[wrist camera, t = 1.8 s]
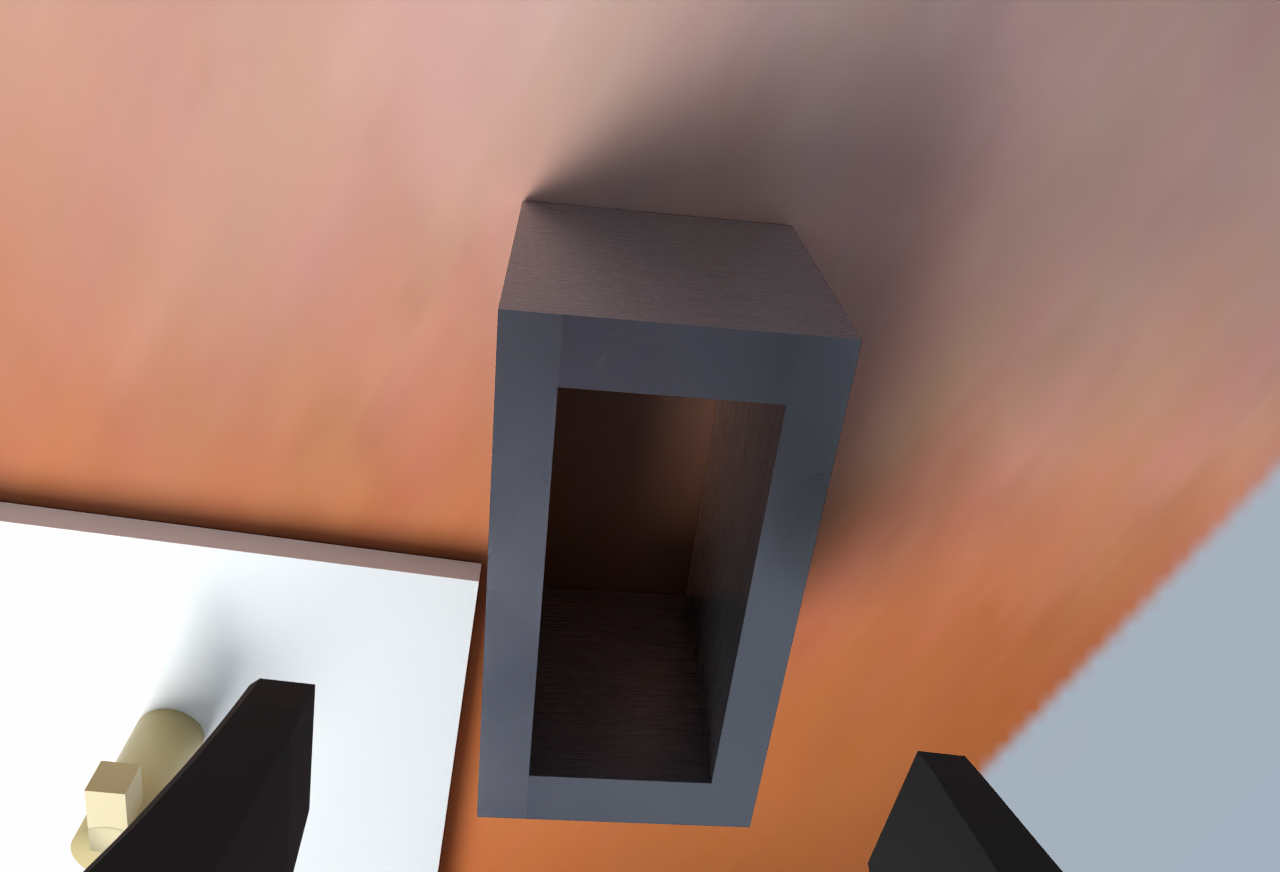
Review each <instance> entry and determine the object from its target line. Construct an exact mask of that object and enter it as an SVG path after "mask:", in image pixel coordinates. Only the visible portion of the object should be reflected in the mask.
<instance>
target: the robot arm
mask: <svg viewBox="0 0 1280 872" xmlns="http://www.w3.org/2000/svg"><path fill="white" fill-rule="evenodd" d="M314 702H315V684H307V683H298V682H289V681H280V680H271V679H262V678H260V679H258V680H257V681H255V682H253V683H252V684H250V685H249V686H248V688H247V689H246V690H245V692H244V693H243V694H242V696H241V697H240V698H239V700H238V701H237V702H236V704H235V705H234V706H233V707H232V709H231V710H230V711H229V712H228V714H227V715H226V716H225V717H224V719H223V720H222V721H221V722H220V724H219V725H218V726H217V727H216V729H215V730H214V731H213V732H212V733H211V735H210V736H209V737H208V738H207V739H206V741H205V742H204V743H203V744H202V745H201V747H200V748H199V749H198V750H197V751H196V752H195V753H194V755H193V756H192V757H191V758H190V759H189V760H188V762H187V763H186V764H185V765H184V766H183V767H182V769H181V770H180V771H179V772H178V773H177V774H176V775H175V776H174V778H173V779H172V780H171V781H170V782H169V783H168V784H167V785H166V786H165V787H164V788H163V789H162V791H161V792H160V793H159V794H158V795H157V796H156V797H155V798H154V799H153V800H152V801H151V802H150V804H149V805H148V806H147V807H146V808H145V809H144V810H143V811H142V812H141V813H140V814H139V815H138V817H137V818H136V819H135V820H134V821H133V822H132V823H131V824H130V825H129V826H128V827H127V828H126V829H125V830H124V831H123V832H122V834H121V835H120V836H119V837H118V838H117V839H116V840H115V841H114V842H113V843H112V844H111V845H110V846H109V847H108V848H107V849H106V850H105V851H104V852H103V853H102V854H101V855H99V856H98V857H97V858H96V859H95V860H94V861H93V862H92V863H91V864H90V865H89V866H88V867H87V868H86V869H85V870H84V871H83V872H293V871H294V868H295V864H296V860H297V856H298V852H299V849H300V845H301V841H302V837H303V833H304V829H305V825H306V821H307V817H308V813H309V807H310V786H311V765H312V744H313V723H314ZM868 866H869V872H1062V870H1061V869H1060V868H1059V867H1058V866H1057V865H1056V863H1055V862H1054V861H1053V860H1052V859H1051V857H1050V856H1049V855H1048V854H1047V853H1046V852H1045V850H1044V849H1043V848H1042V847H1041V846H1040V844H1039V843H1038V842H1037V841H1036V840H1035V838H1034V837H1033V836H1032V835H1031V834H1030V832H1029V831H1028V830H1027V829H1026V828H1025V826H1024V825H1023V824H1022V823H1021V822H1020V821H1019V819H1018V818H1017V817H1016V816H1015V814H1014V813H1013V812H1012V811H1011V810H1010V808H1008V806H1007V805H1006V804H1005V802H1004V801H1003V800H1002V799H1001V798H1000V797H999V795H998V794H997V793H996V792H995V791H994V789H993V788H992V787H991V786H990V785H989V783H988V782H987V781H986V780H985V779H984V778H983V776H982V775H981V774H980V773H979V772H978V771H977V769H976V768H975V767H974V766H973V765H972V764H971V763H970V761H969V760H968V759H967V758H966V757H965V756H958V755H949V754H940V753H931V752H922V751H918V752H917V754H916V756H915V759H914V761H913V763H912V765H911V768H910V770H909V772H908V774H907V777H906V779H905V781H904V783H903V786H902V788H901V790H900V792H899V795H898V797H897V799H896V801H895V804H894V806H893V808H892V810H891V813H890V815H889V817H888V819H887V821H886V824H885V826H884V828H883V830H882V833H881V835H880V837H879V839H878V842H877V844H876V846H875V848H874V851H873V853H872V855H871V857H870V860H869V862H868Z"/></svg>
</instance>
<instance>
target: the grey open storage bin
mask: <svg viewBox="0 0 1280 872" xmlns="http://www.w3.org/2000/svg"><path fill="white" fill-rule="evenodd" d="M861 342H862V339H861V337H860V335H859V334H858V332H857V331H856V329H855V327H854V326H853V324H852V323H851V321H850V319H849V318H848V316H847V314H846V313H845V311H844V310H843V308H842V306H841V305H840V303H839V302H838V300H837V298H836V297H835V295H834V293H833V292H832V290H831V289H830V287H829V285H828V284H827V282H826V281H825V279H824V277H823V276H822V274H821V272H820V271H819V269H818V268H817V266H816V264H815V263H814V261H813V260H812V258H811V256H810V255H809V253H808V251H807V250H806V248H805V247H804V245H803V243H802V242H801V240H800V239H799V237H798V235H797V234H796V232H795V230H794V229H793V227H792V226H788V225H777V224H766V223H756V222H745V221H734V220H724V219H713V218H702V217H692V216H681V215H670V214H660V213H649V212H639V211H628V210H617V209H607V208H596V207H585V206H575V205H564V204H553V203H543V202H532V201H523V202H522V207H521V211H520V215H519V220H518V224H517V229H516V233H515V237H514V242H513V246H512V251H511V255H510V259H509V264H508V268H507V273H506V277H505V281H504V286H503V290H502V295H501V299H500V303H499V308H498V326H497V350H496V375H495V399H494V423H493V447H492V471H491V495H490V519H489V543H488V567H487V591H486V616H485V640H484V664H483V688H482V712H481V736H480V760H479V784H478V808H477V817H495V818H521V819H547V820H573V821H600V822H626V823H652V824H678V825H704V826H731V827H750V823H751V819H752V815H753V810H754V806H755V802H756V797H757V793H758V789H759V784H760V780H761V776H762V771H763V767H764V763H765V758H766V754H767V750H768V745H769V741H770V737H771V732H772V728H773V724H774V719H775V715H776V711H777V706H778V702H779V698H780V693H781V689H782V685H783V680H784V676H785V672H786V667H787V663H788V659H789V654H790V650H791V646H792V641H793V637H794V633H795V628H796V624H797V620H798V615H799V611H800V607H801V602H802V598H803V594H804V589H805V585H806V581H807V576H808V572H809V568H810V563H811V559H812V555H813V550H814V546H815V542H816V537H817V533H818V529H819V524H820V520H821V516H822V511H823V507H824V503H825V498H826V494H827V490H828V485H829V481H830V477H831V472H832V468H833V464H834V459H835V455H836V451H837V446H838V442H839V438H840V433H841V429H842V425H843V420H844V416H845V412H846V407H847V403H848V399H849V394H850V390H851V386H852V381H853V377H854V373H855V368H856V364H857V359H858V355H859V351H860V346H861ZM558 387H562V388H575V389H588V390H601V391H613V392H626V393H639V394H652V395H665V396H678V397H691V398H704V399H717V404H716V411H715V417H714V423H713V429H712V436H711V442H710V448H709V454H708V460H707V467H706V473H705V479H704V485H703V492H702V498H701V504H700V510H699V517H698V523H697V529H696V535H695V541H694V548H693V554H692V560H691V566H690V573H689V579H688V585H687V591H686V596H684V595H667V594H650V593H633V592H616V591H599V590H582V589H565V588H549V587H543V578H544V565H545V552H546V538H547V525H548V512H549V498H550V485H551V472H552V458H553V445H554V432H555V418H556V405H557V391H558Z"/></svg>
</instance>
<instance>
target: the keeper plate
mask: <svg viewBox="0 0 1280 872" xmlns="http://www.w3.org/2000/svg"><path fill="white" fill-rule="evenodd" d="M481 565H482V564H481V563H473V562H465V561H457V560H450V559H442V558H434V557H426V556H418V555H411V554H403V553H395V552H387V551H380V550H372V549H364V548H356V547H348V546H341V545H333V544H325V543H317V542H310V541H302V540H294V539H286V538H278V537H271V536H263V535H255V534H247V533H240V532H232V531H224V530H216V529H208V528H201V527H193V526H185V525H177V524H170V523H162V522H154V521H146V520H138V519H131V518H123V517H115V516H107V515H100V514H92V513H84V512H76V511H68V510H61V509H53V508H45V507H37V506H30V505H22V504H14V503H6V502H0V872H83V871H84V870H85V869H86V868H87V867H88V866H89V865H90V864H91V863H92V862H93V861H94V860H95V859H96V858H97V857H98V856H99V855H101V854H102V853H103V852H104V851H105V850H106V849H107V848H108V847H109V846H110V845H111V844H112V843H113V842H114V841H115V840H116V839H117V838H118V837H119V836H120V835H121V834H122V832H123V831H124V830H125V829H126V828H127V827H128V826H129V825H130V824H131V823H132V822H133V821H134V820H135V819H136V818H137V817H138V815H139V814H140V813H141V812H142V811H143V810H144V809H145V808H146V807H147V806H148V805H149V804H150V802H151V801H152V800H153V799H154V798H155V797H156V796H157V795H158V794H159V793H160V792H161V791H162V789H163V788H164V787H165V786H166V785H167V784H168V783H169V782H170V781H171V780H172V779H173V778H174V776H175V775H176V774H177V773H178V772H179V771H180V770H181V769H182V767H183V766H184V765H185V764H186V763H187V762H188V760H189V759H190V758H191V757H192V756H193V755H194V753H195V752H196V751H197V750H198V749H199V748H200V747H201V745H202V744H203V743H204V742H205V741H206V739H207V738H208V737H209V736H210V735H211V733H212V732H213V731H214V730H215V729H216V727H217V726H218V725H219V724H220V722H221V721H222V720H223V719H224V717H225V716H226V715H227V714H228V712H229V711H230V710H231V709H232V707H233V706H234V705H235V704H236V702H237V701H238V700H239V698H240V697H241V696H242V694H243V693H244V692H245V690H246V689H247V688H248V686H249V685H250V684H252V683H253V682H255V681H257V680H258V679H260V678H262V679H271V680H280V681H289V682H298V683H307V684H315V702H314V723H313V744H312V765H311V786H310V807H309V813H308V817H307V821H306V825H305V829H304V833H303V837H302V841H301V845H300V849H299V852H298V856H297V860H296V864H295V868H294V871H293V872H438V869H439V862H440V854H441V847H442V840H443V833H444V826H445V819H446V812H447V805H448V798H449V791H450V784H451V777H452V770H453V763H454V756H455V749H456V742H457V735H458V727H459V720H460V713H461V706H462V699H463V692H464V685H465V678H466V671H467V664H468V657H469V650H470V643H471V636H472V629H473V622H474V615H475V607H476V600H477V593H478V586H479V579H480V572H481Z"/></svg>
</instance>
